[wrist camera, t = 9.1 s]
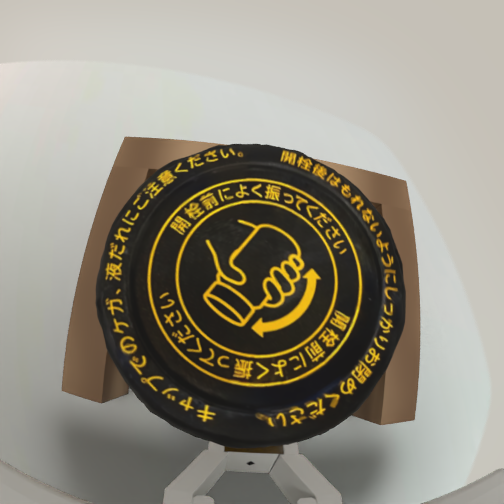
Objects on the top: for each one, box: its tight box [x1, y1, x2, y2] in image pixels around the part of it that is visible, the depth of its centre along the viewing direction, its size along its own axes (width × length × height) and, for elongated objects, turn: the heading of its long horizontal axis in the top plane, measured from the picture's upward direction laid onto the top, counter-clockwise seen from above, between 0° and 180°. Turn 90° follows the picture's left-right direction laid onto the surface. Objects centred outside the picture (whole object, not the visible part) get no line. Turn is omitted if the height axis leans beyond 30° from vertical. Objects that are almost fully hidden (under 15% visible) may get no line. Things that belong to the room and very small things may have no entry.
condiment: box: [95, 144, 406, 448], centre depth 10 cm, size 7×8×12 cm
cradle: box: [62, 137, 420, 425], centre depth 14 cm, size 16×13×4 cm
